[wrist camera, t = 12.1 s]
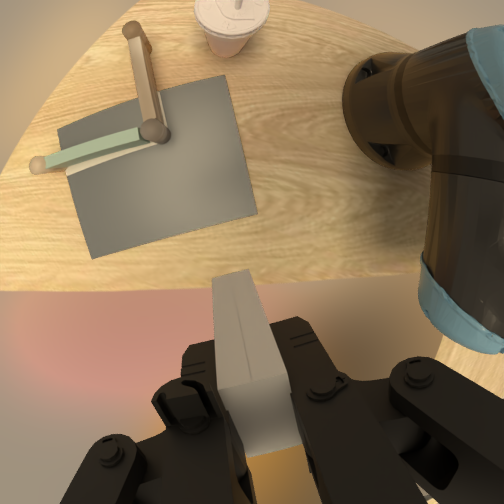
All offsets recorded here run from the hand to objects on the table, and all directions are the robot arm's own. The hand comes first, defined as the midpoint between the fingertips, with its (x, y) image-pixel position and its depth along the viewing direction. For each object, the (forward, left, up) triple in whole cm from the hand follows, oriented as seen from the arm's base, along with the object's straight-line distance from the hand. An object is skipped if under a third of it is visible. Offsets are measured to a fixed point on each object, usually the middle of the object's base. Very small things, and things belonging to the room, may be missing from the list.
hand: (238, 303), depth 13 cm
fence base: (+4, -15, -22) cm, 27 cm away
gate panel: (+11, -10, -22) cm, 27 cm away
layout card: (+6, -7, -22) cm, 24 cm away
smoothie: (-5, -19, -23) cm, 30 cm away
